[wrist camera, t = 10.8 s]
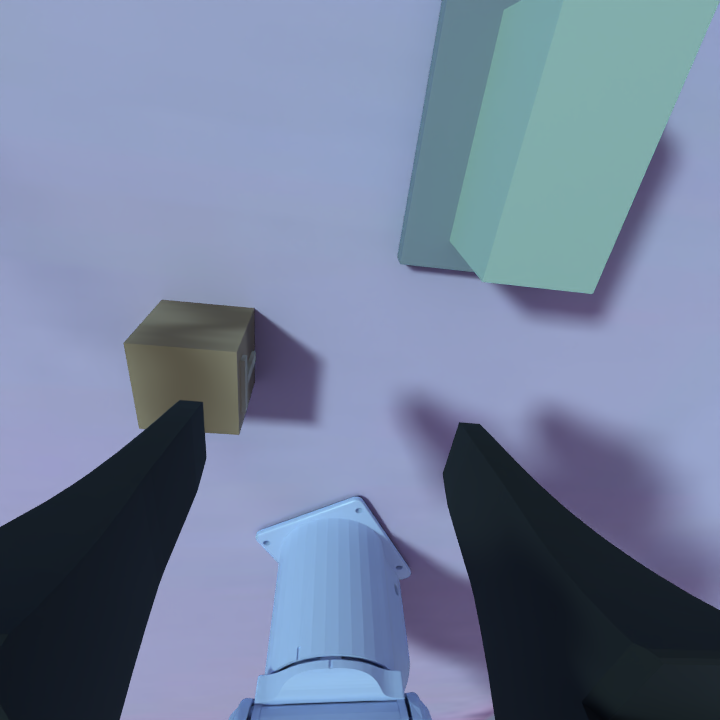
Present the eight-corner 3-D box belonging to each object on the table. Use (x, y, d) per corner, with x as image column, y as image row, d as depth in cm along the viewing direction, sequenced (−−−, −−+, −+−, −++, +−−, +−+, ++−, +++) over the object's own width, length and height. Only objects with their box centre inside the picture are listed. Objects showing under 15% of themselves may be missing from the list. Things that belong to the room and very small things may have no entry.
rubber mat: (452, -60, 15) (459, -70, 14) (669, -19, 15) (688, -26, 14) (397, 257, 20) (400, 264, 19) (558, 274, 21) (568, 282, 20)
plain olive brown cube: (258, 307, 21) (241, 352, 17) (258, 381, 23) (243, 435, 20) (162, 299, 21) (123, 343, 17) (171, 375, 23) (139, 428, 19)
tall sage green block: (503, 9, 15) (571, -28, 10) (611, 29, 15) (719, 0, 11) (449, 240, 19) (482, 281, 15) (535, 251, 19) (592, 294, 15)
